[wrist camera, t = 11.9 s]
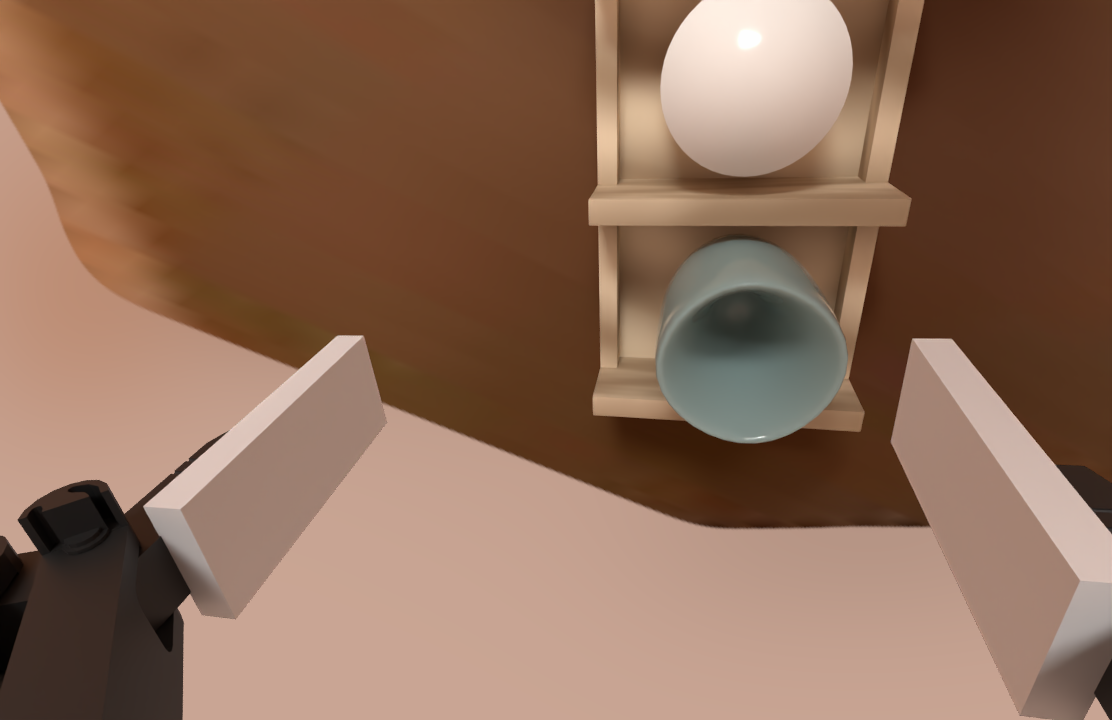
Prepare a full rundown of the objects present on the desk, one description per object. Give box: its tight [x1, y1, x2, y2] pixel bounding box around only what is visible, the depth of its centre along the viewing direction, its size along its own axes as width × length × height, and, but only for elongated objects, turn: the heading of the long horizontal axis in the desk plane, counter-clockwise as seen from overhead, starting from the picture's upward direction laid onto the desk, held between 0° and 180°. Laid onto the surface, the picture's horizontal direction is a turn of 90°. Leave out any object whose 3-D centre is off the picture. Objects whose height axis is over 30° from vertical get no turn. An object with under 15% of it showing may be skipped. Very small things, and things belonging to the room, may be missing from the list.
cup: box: [655, 233, 848, 443], centre depth 30 cm, size 8×8×10 cm
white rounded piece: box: [660, 0, 853, 177], centre depth 27 cm, size 8×8×5 cm
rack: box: [588, 0, 924, 432], centre depth 30 cm, size 23×14×6 cm, turn 2°
